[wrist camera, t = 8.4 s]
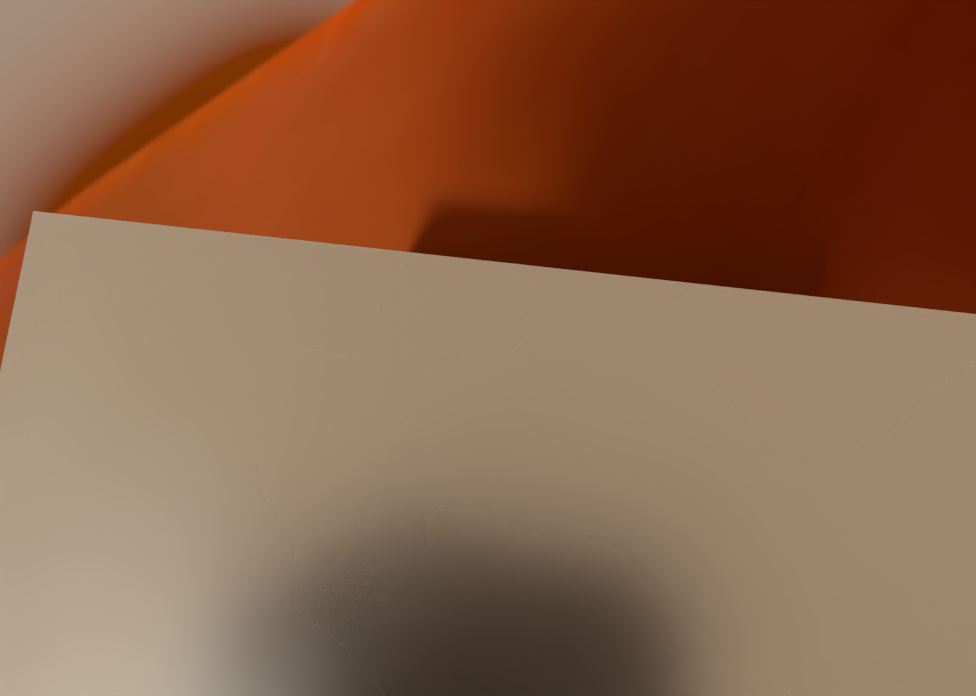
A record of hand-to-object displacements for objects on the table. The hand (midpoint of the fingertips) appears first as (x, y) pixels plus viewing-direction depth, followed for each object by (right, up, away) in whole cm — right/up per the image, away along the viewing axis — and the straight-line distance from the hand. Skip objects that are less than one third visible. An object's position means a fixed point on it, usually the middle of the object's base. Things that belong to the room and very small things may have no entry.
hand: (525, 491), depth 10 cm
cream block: (+1, -2, +6) cm, 7 cm away
